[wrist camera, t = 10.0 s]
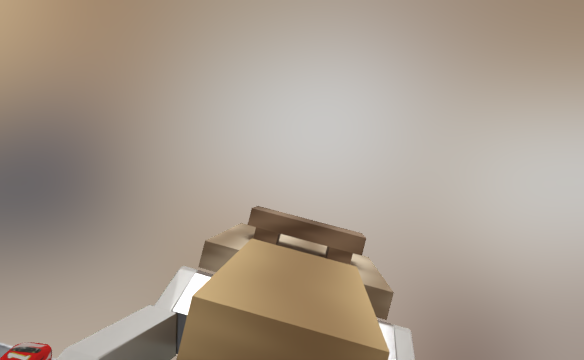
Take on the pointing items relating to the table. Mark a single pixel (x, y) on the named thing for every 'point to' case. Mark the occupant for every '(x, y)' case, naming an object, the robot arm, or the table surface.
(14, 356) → the race car
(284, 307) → the tan wooden bar
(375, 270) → the stand
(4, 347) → the table surface
